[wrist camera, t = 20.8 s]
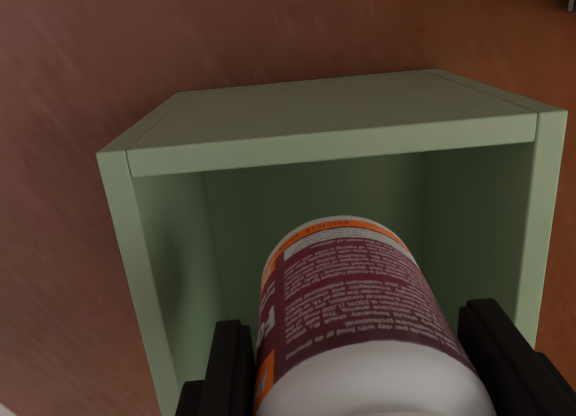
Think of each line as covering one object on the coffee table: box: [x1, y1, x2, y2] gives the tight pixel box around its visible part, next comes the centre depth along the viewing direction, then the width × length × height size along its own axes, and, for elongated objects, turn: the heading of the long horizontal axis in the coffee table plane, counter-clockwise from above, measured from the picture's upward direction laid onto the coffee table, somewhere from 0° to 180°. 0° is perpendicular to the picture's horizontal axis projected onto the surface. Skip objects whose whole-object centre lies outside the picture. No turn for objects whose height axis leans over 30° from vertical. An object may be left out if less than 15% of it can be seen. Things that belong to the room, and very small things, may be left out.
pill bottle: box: [252, 215, 497, 416], centre depth 11 cm, size 5×5×8 cm
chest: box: [96, 68, 568, 416], centre depth 20 cm, size 15×13×11 cm
